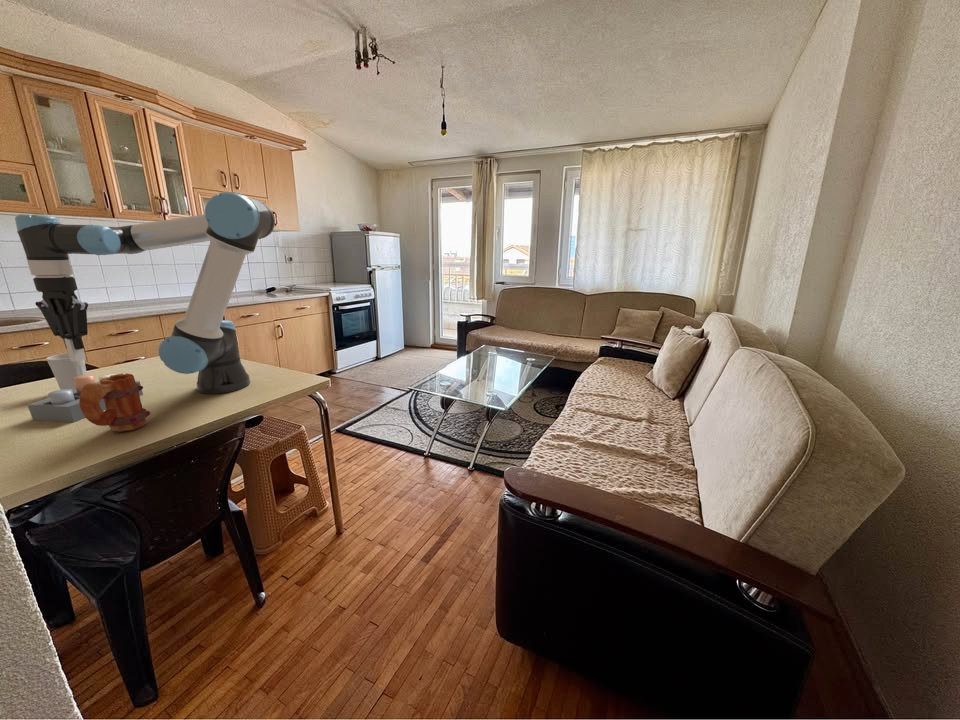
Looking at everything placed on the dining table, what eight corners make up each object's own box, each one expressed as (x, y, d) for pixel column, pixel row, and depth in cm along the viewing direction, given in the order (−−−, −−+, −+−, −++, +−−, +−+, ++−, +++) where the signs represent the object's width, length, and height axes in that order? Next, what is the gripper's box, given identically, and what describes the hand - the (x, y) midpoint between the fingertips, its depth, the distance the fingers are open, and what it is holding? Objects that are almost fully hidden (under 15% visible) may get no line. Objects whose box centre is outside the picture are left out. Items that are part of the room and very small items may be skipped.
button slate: (81, 405, 105) (76, 389, 104) (64, 412, 101) (58, 395, 99) (67, 405, 105) (61, 388, 104) (49, 411, 101) (43, 394, 100)
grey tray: (143, 394, 119) (139, 381, 118) (74, 422, 100) (69, 406, 99) (108, 392, 120) (104, 379, 118) (32, 419, 101) (27, 404, 99)
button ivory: (126, 389, 117) (122, 374, 116) (112, 394, 113) (107, 379, 112) (113, 388, 118) (109, 373, 116) (98, 393, 113) (94, 378, 112)
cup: (70, 397, 116) (58, 360, 112) (51, 394, 117) (39, 358, 114) (100, 388, 123) (90, 353, 120) (81, 386, 125) (71, 351, 121)
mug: (128, 420, 102) (114, 368, 97) (160, 419, 103) (147, 368, 98) (77, 447, 88) (58, 388, 84) (114, 446, 89) (97, 388, 84)
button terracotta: (103, 390, 111) (98, 374, 109) (87, 395, 106) (82, 379, 105) (89, 389, 111) (84, 373, 109) (73, 395, 107) (67, 378, 105)
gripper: (91, 276, 102) (113, 357, 109) (47, 274, 103) (72, 355, 110) (59, 278, 95) (85, 365, 102) (13, 276, 96) (41, 362, 103)
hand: (78, 359), depth 106 cm, fingers closed
